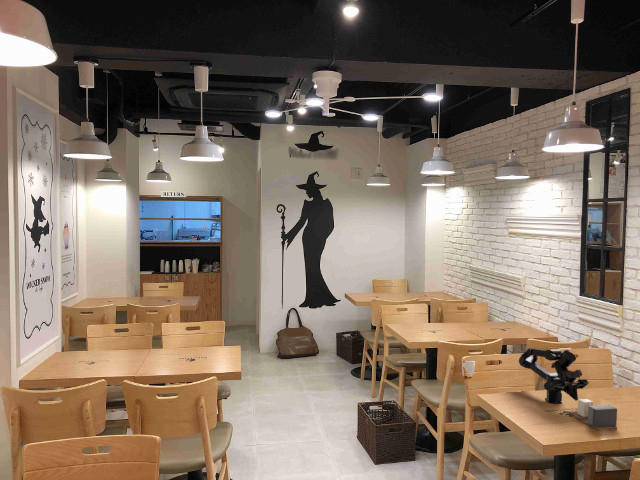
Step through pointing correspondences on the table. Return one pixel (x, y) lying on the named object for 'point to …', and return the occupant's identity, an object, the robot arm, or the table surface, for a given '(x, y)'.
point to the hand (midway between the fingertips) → (576, 400)
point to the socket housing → (602, 415)
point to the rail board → (585, 420)
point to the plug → (584, 406)
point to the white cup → (468, 367)
